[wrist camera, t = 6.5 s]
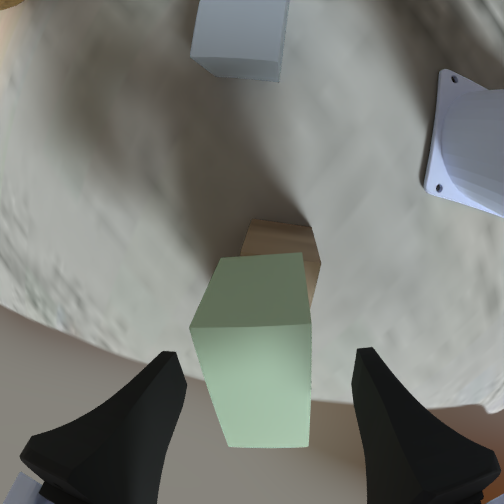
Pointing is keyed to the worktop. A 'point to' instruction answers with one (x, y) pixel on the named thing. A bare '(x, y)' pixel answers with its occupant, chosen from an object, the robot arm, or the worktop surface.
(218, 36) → the slate brick
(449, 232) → the worktop surface
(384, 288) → the worktop surface
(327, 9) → the worktop surface
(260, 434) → the green brick
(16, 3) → the potato
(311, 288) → the walnut brick
